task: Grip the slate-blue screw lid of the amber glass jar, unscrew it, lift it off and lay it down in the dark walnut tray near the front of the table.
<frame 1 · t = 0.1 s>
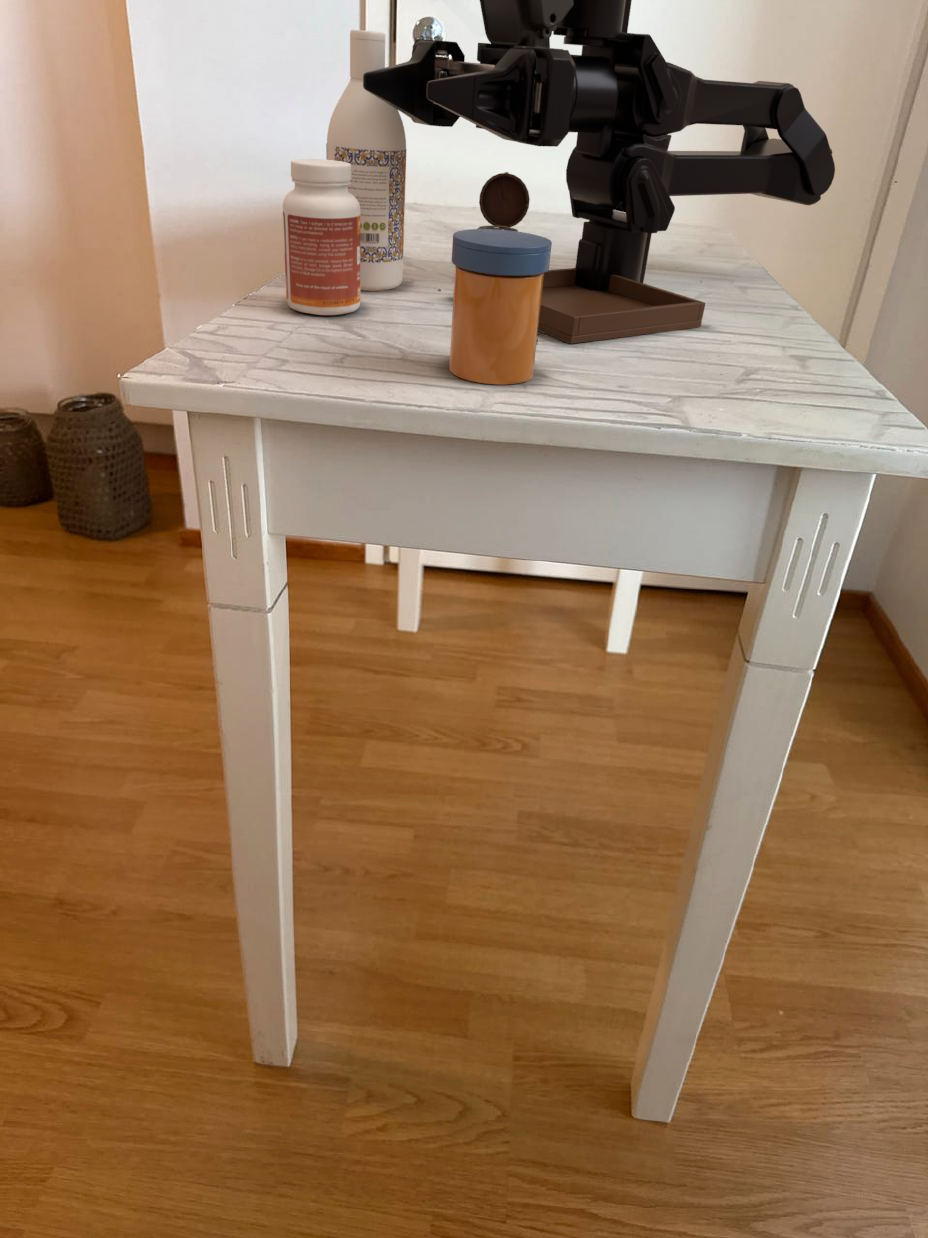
hand: (394, 85, 67), 17 cm above the table, tool horizontal, fingers open, 9 cm apart
compass: (505, 243, 109), on the table
lid: (501, 244, 59), point 8 cm above the table, screwed on, not yet turned
jar: (491, 371, 64), on the table
tray: (580, 313, 80), on the table
bath foam: (365, 285, 85), on the table
pill bottle: (323, 310, 76), on the table
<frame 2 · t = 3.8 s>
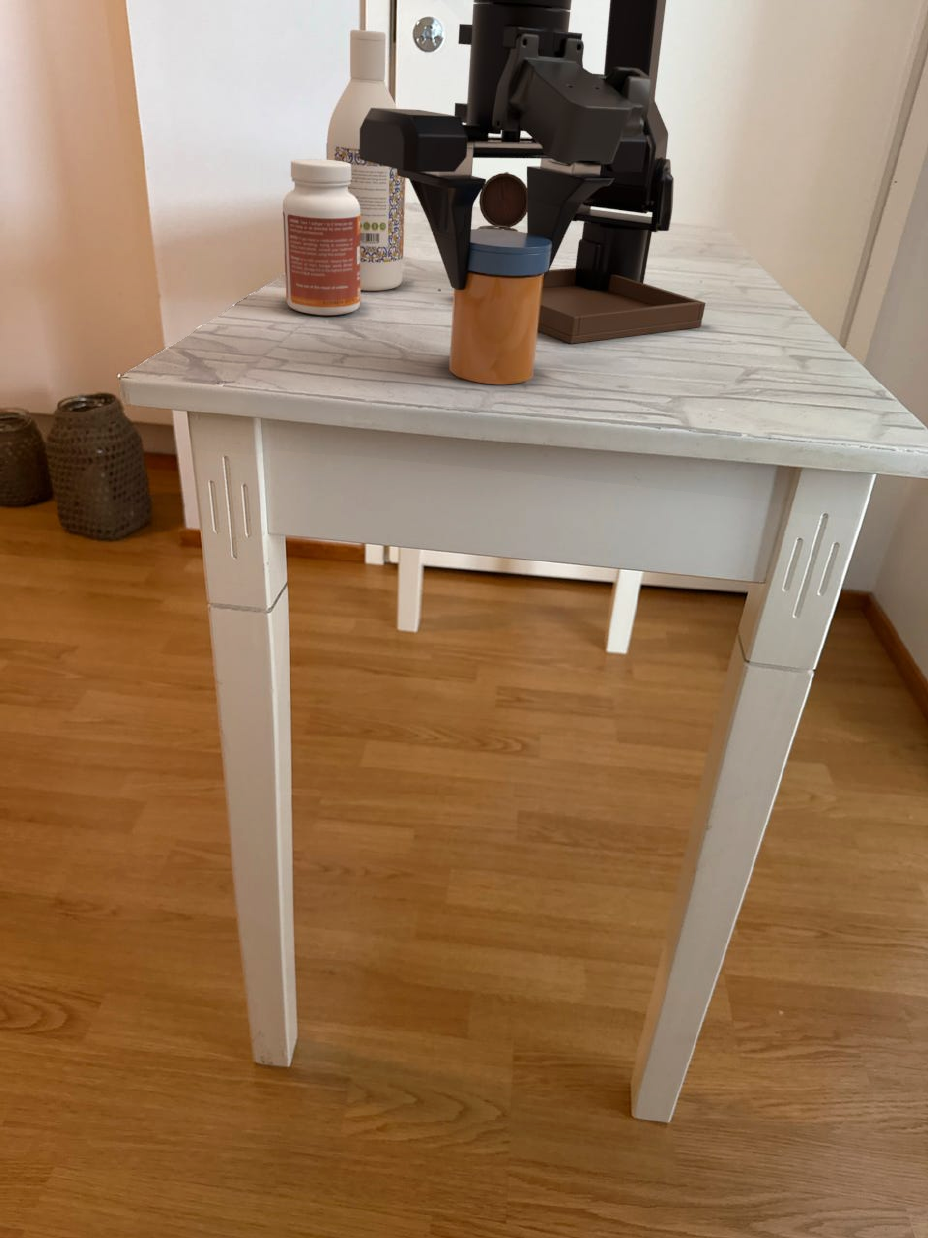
hand: (497, 285, 61), 6 cm above the table, tool pointing down, fingers closed on lid, 6 cm apart
lid: (502, 244, 59), point 8 cm above the table, screwed on, not yet turned, touching gripper
everything else where it was.
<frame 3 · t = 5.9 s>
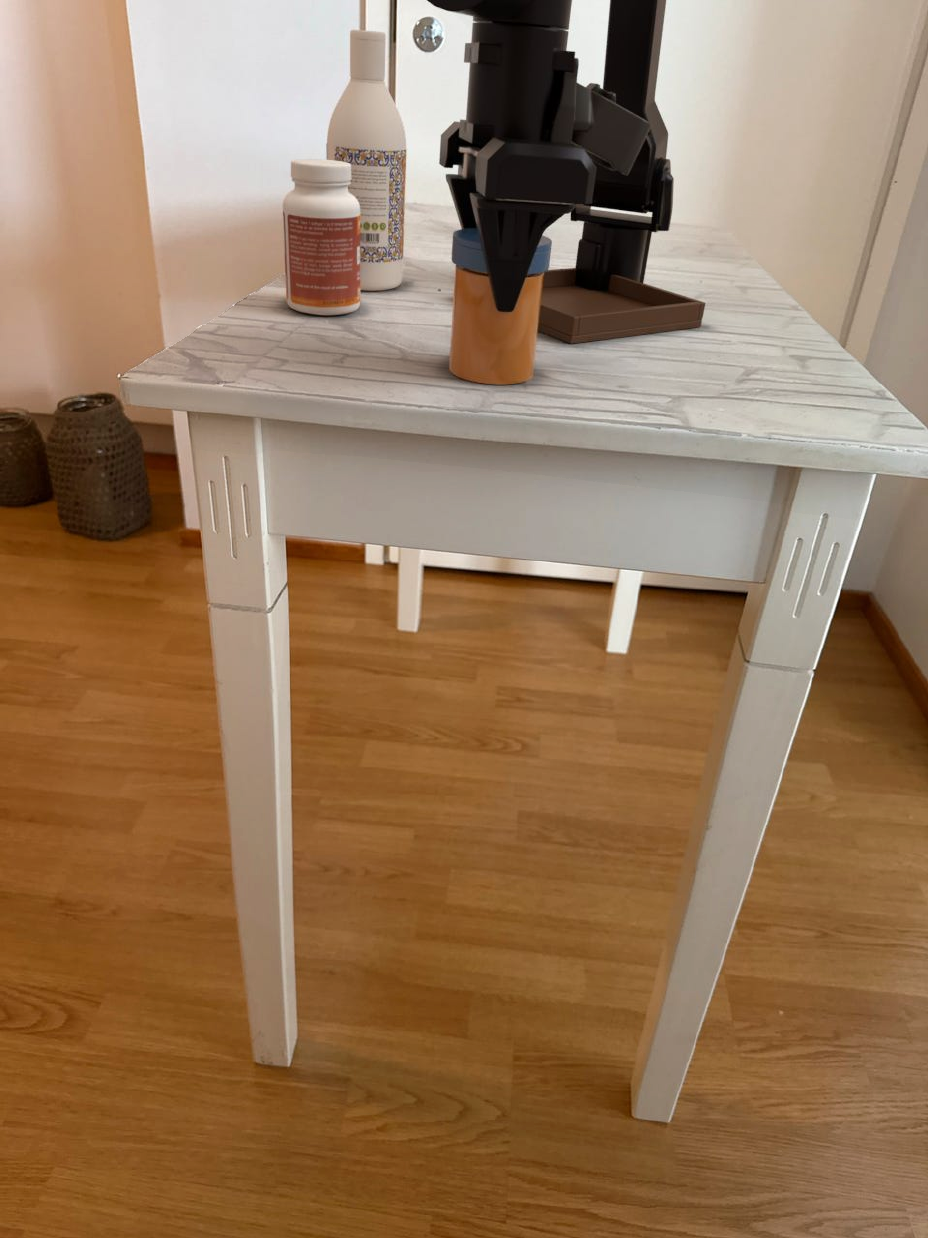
hand: (495, 300, 61), 5 cm above the table, tool pointing down, fingers closed on lid, 6 cm apart
lid: (501, 243, 59), point 9 cm above the table, turned 65° so far, risen 0.1 cm, still on its thread, touching gripper
jar: (491, 371, 64), on the table, touching gripper
everything else where it was.
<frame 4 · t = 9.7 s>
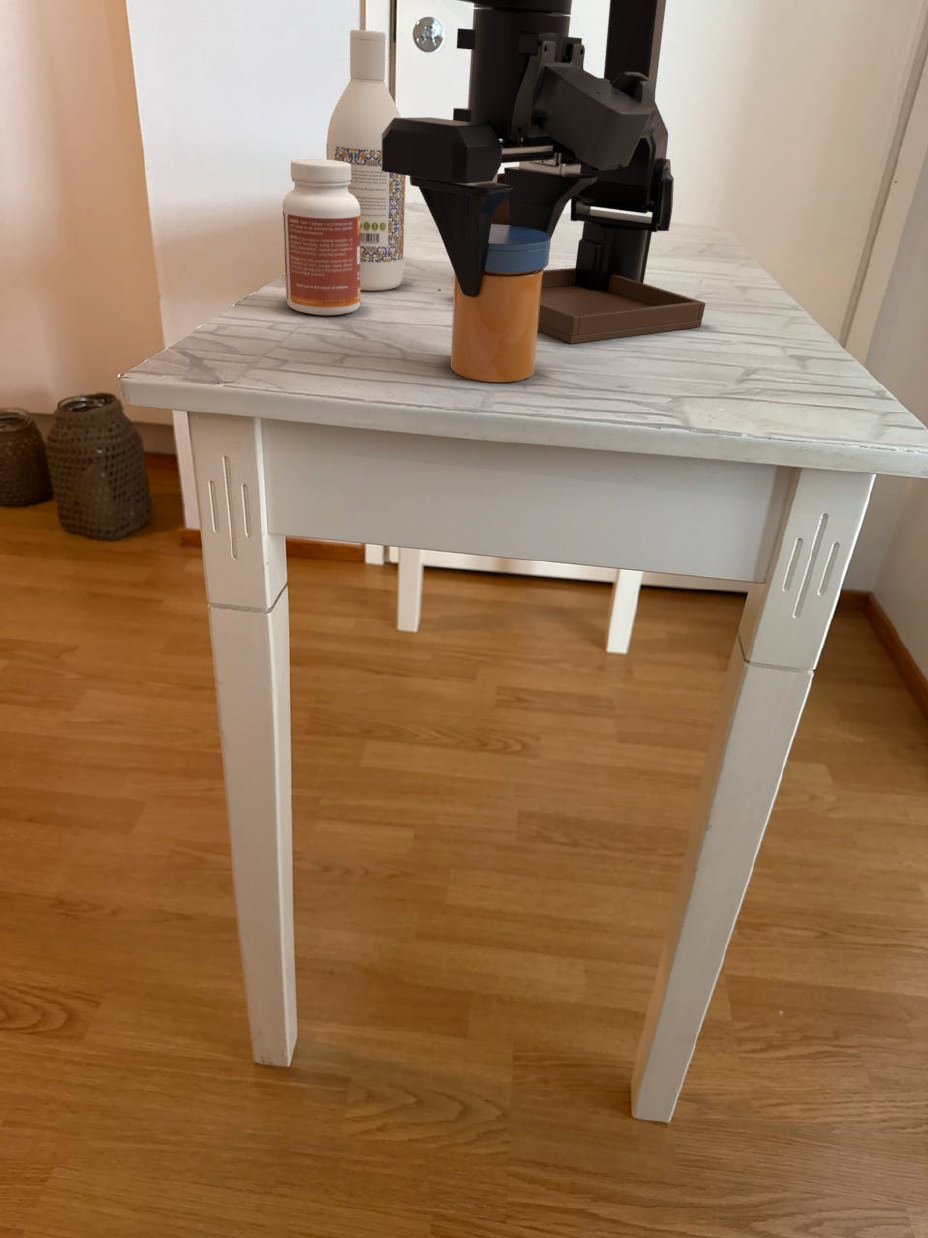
hand: (498, 289, 61), 6 cm above the table, tool pointing down, fingers closed on lid, 6 cm apart
lid: (501, 240, 59), point 9 cm above the table, turned 81° so far, risen 0.1 cm, still on its thread, touching gripper
everything else where it was.
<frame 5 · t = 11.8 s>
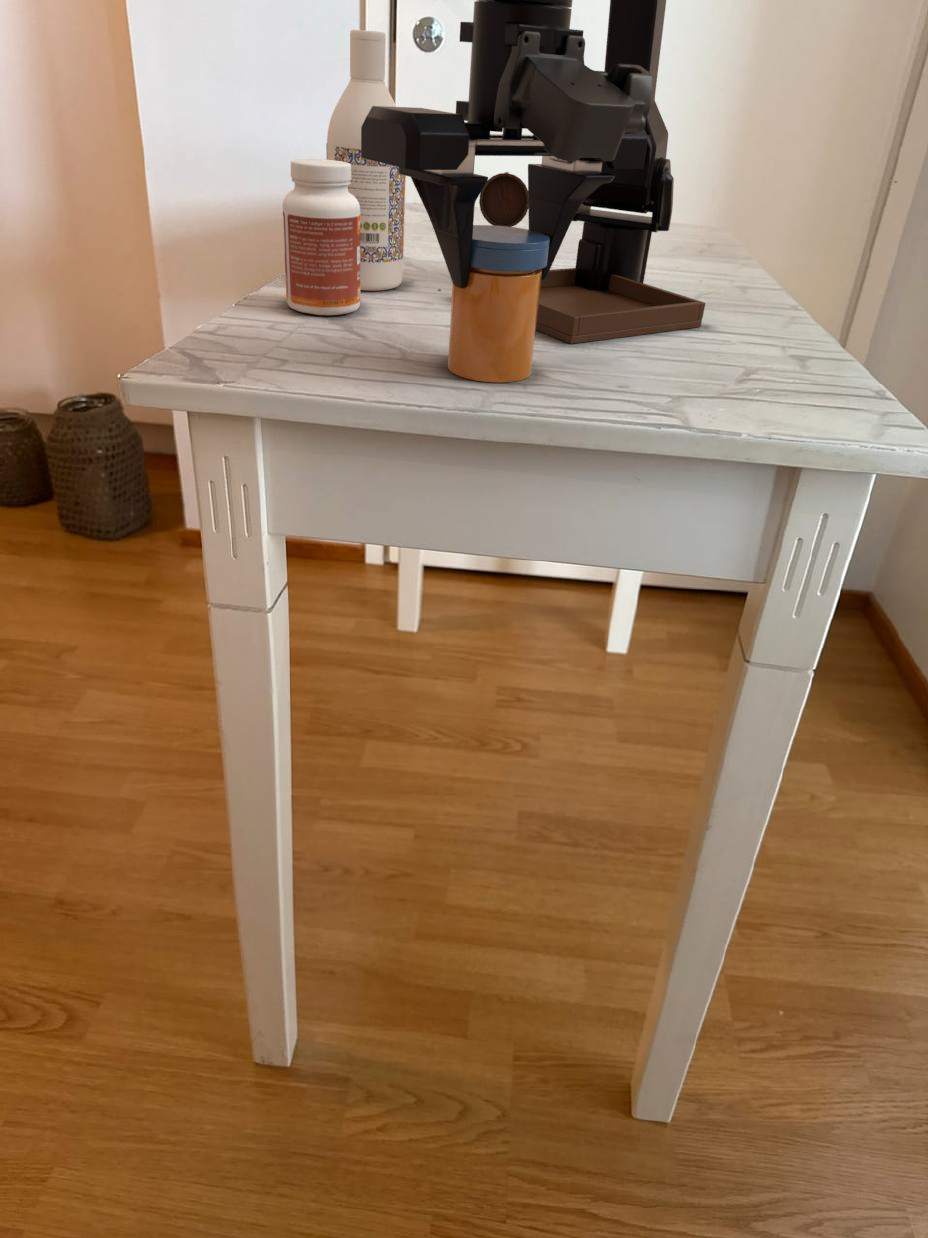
hand: (499, 283, 61), 6 cm above the table, tool pointing down, fingers closed on lid, 6 cm apart
lid: (500, 240, 59), point 9 cm above the table, turned 123° so far, risen 0.2 cm, still on its thread, touching gripper
jar: (489, 369, 64), on the table
everything else where it was.
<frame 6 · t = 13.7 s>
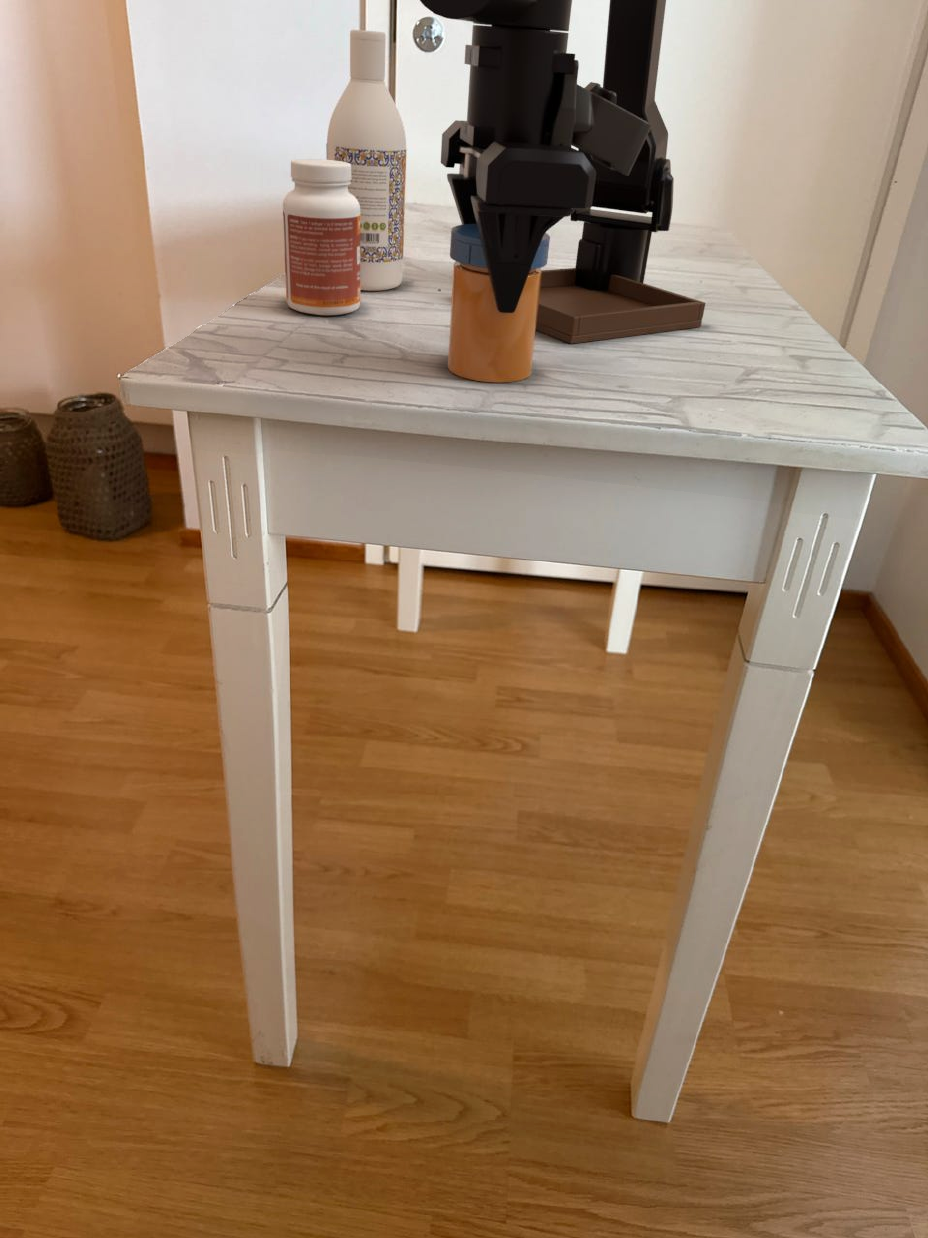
hand: (497, 300, 61), 5 cm above the table, tool pointing down, fingers closed on jar, lid, 6 cm apart
lid: (500, 238, 59), point 9 cm above the table, turned 190° so far, risen 0.3 cm, still on its thread, touching gripper
jar: (489, 369, 64), on the table, touching gripper
everything else where it was.
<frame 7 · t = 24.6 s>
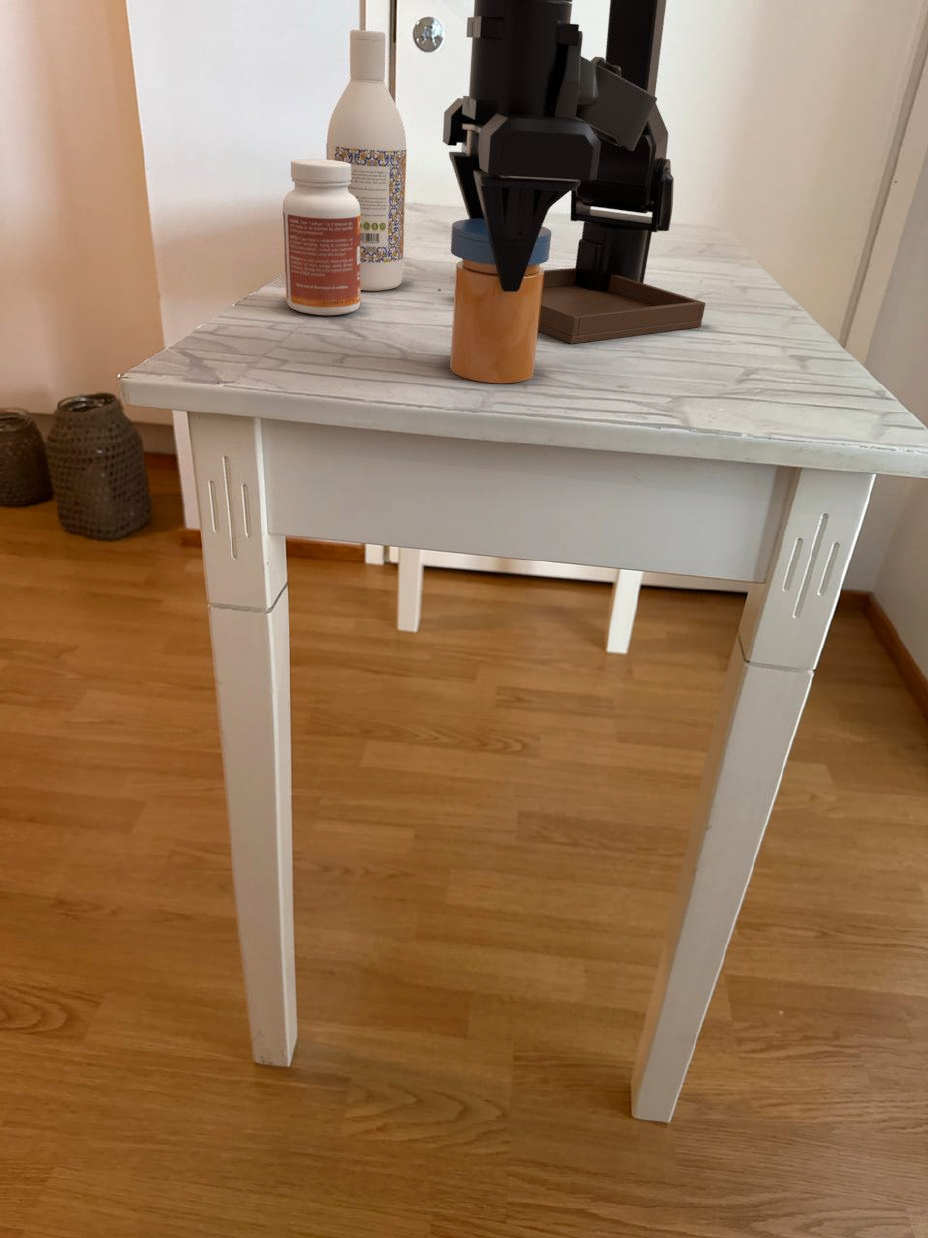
hand: (500, 279, 61), 6 cm above the table, tool pointing down, fingers closed on lid, 6 cm apart
lid: (501, 233, 59), point 9 cm above the table, off its thread, touching gripper
jar: (491, 370, 64), on the table, touching gripper
everything else where it was.
when the fingers open (2 cm above the table, at t = 29.4 s): lid drops 3 cm, resting on tray.
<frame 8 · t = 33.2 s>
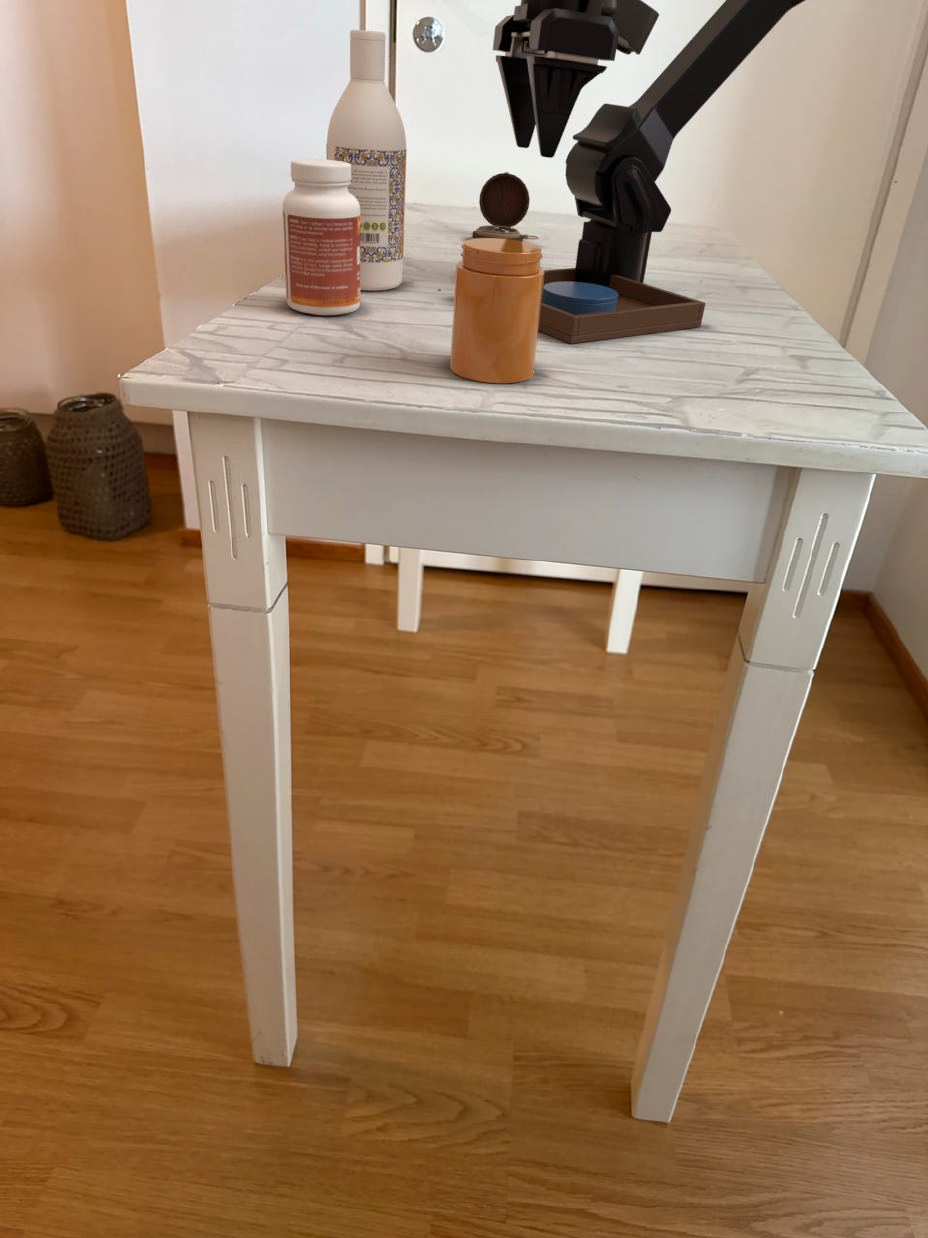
hand: (534, 151, 79), 12 cm above the table, tool pointing down, fingers open, 9 cm apart
lid: (579, 294, 78), point 2 cm above the table, off its thread, touching tray
jar: (491, 370, 64), on the table
everything else where it was.
at the end: lid came off its thread; lid inside the target area in the tray (1.4 cm from its centre), point 1.9 cm above the tray's base; the gripper is holding nothing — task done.
